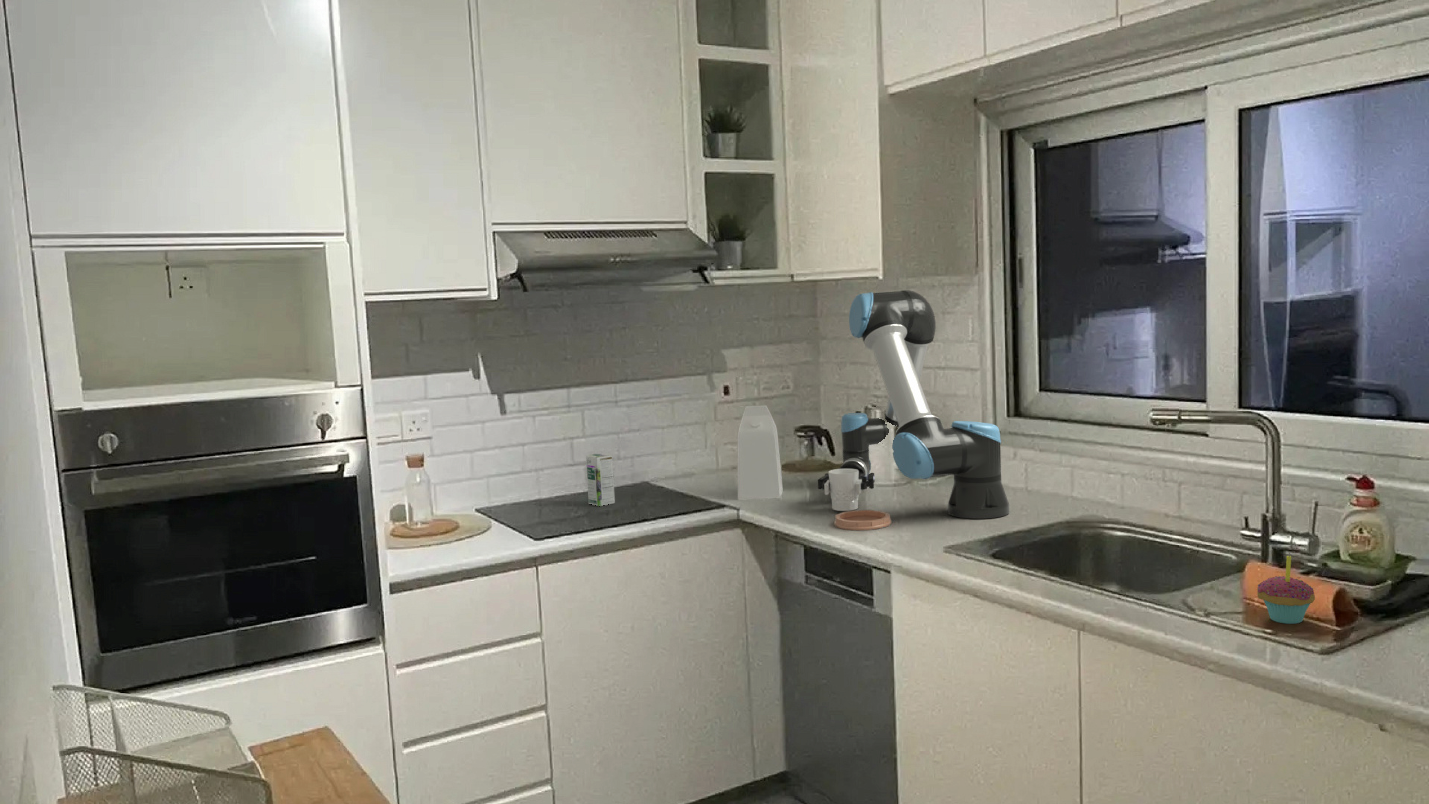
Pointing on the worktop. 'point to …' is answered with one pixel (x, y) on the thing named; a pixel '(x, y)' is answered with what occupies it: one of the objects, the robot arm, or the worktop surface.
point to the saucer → (862, 520)
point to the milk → (758, 455)
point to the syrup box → (600, 479)
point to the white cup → (844, 489)
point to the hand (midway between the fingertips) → (841, 489)
